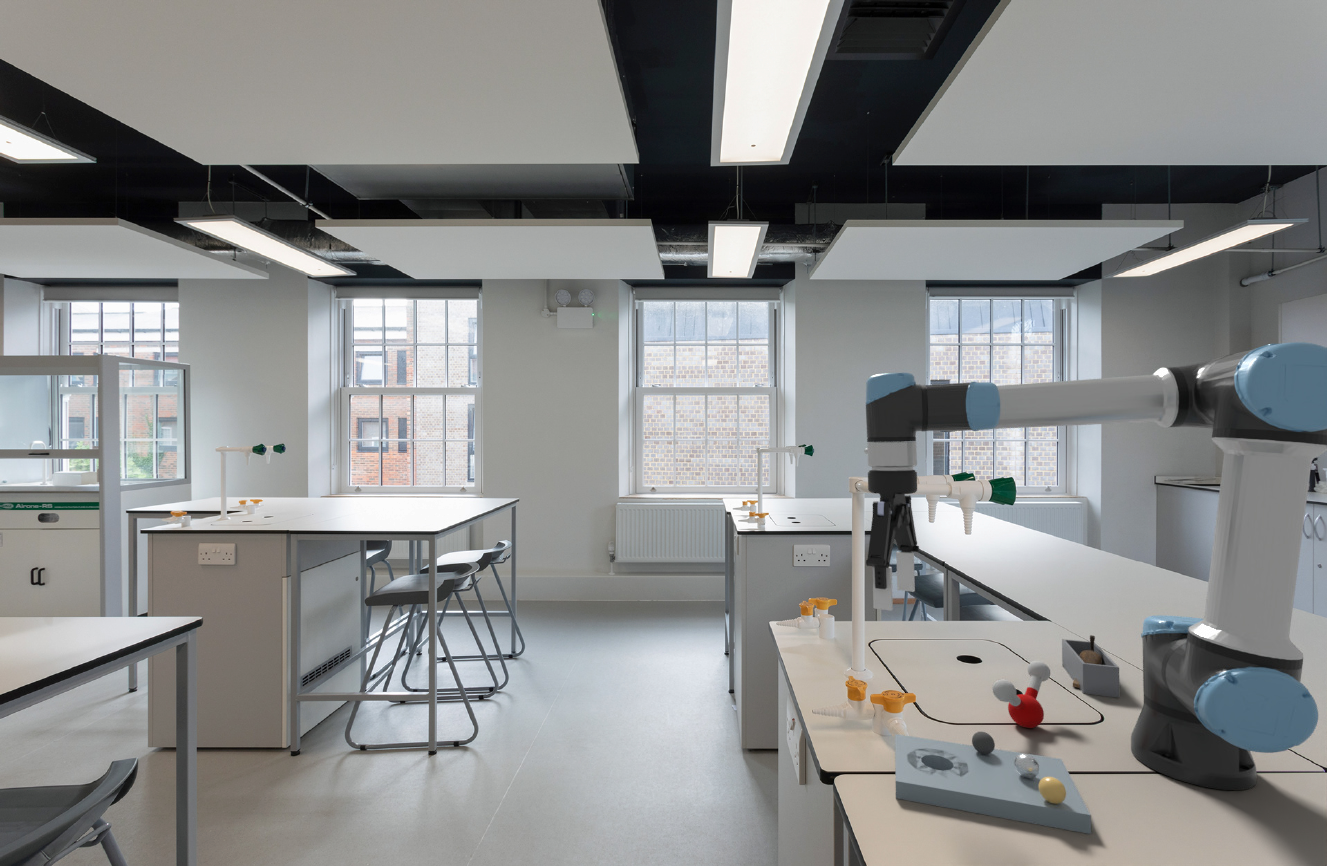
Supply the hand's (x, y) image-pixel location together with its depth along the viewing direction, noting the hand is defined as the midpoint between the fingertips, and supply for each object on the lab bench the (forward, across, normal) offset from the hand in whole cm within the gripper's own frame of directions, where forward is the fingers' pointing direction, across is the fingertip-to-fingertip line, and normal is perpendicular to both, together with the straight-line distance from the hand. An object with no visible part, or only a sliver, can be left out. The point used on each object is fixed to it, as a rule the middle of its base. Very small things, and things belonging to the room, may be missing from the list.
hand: (895, 599), depth 100 cm
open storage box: (+26, -56, +24) cm, 67 cm away
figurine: (+26, -57, +25) cm, 67 cm away
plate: (+26, +1, +12) cm, 29 cm away
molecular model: (+26, -25, +15) cm, 40 cm away
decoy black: (+22, -5, +12) cm, 25 cm away
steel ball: (+22, -1, +18) cm, 28 cm away
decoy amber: (+22, +4, +21) cm, 31 cm away
